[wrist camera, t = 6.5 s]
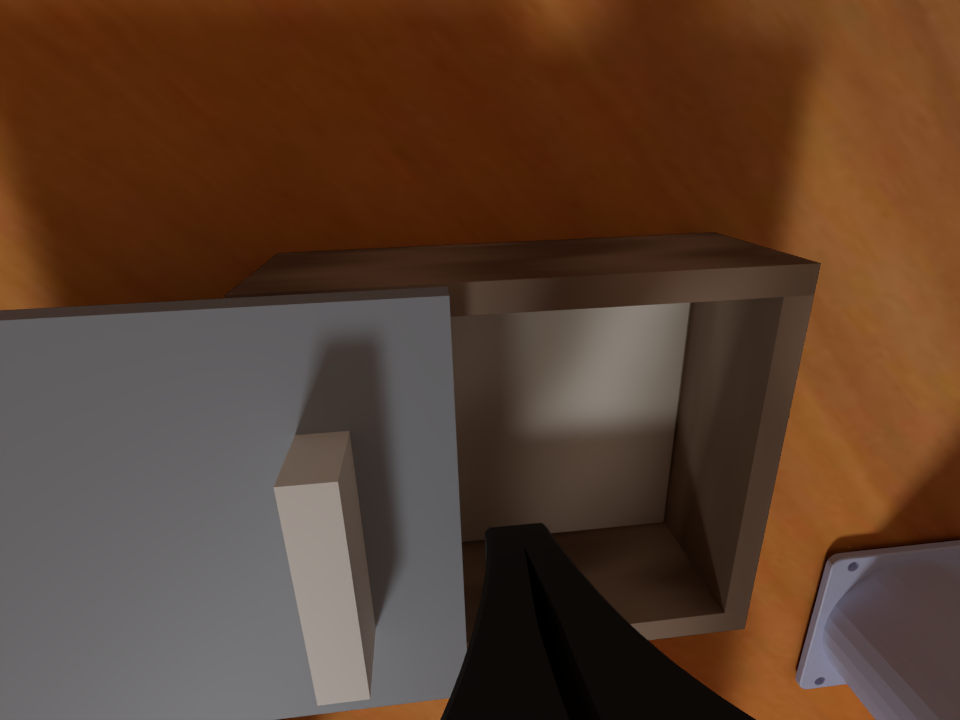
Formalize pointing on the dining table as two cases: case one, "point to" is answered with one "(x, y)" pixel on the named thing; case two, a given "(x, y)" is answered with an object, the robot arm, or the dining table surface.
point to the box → (609, 402)
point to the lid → (229, 507)
